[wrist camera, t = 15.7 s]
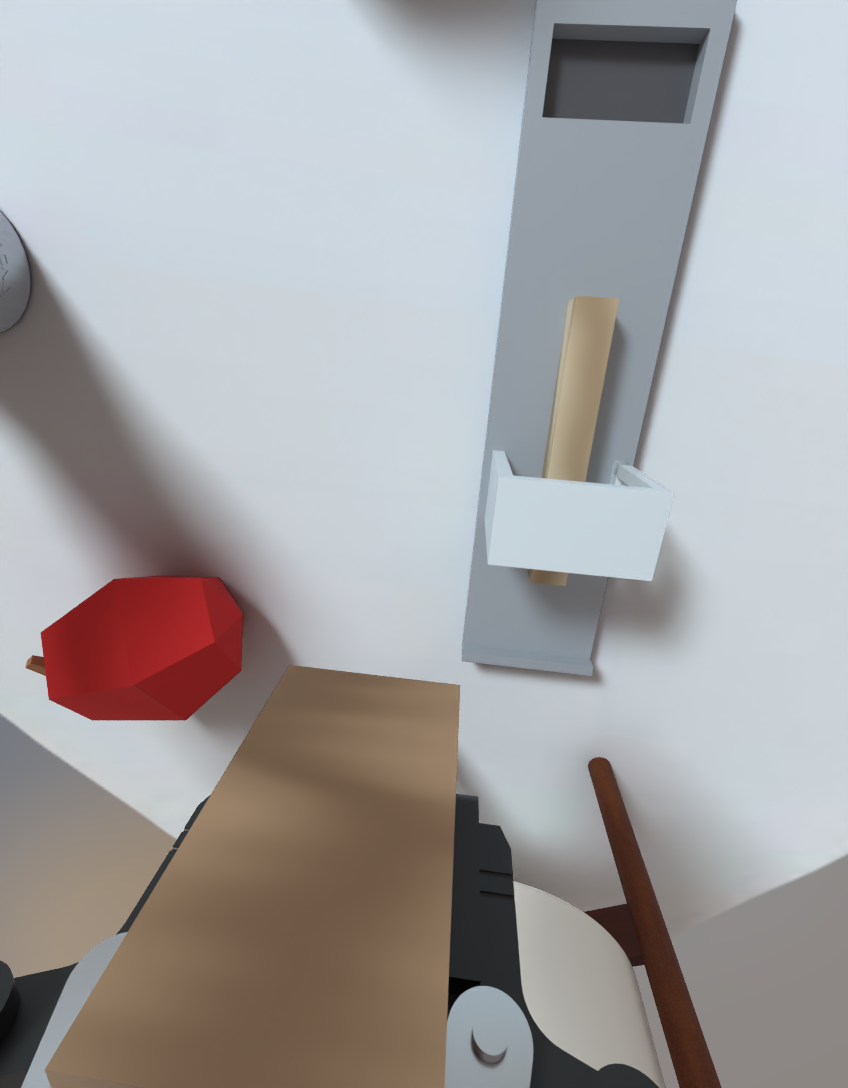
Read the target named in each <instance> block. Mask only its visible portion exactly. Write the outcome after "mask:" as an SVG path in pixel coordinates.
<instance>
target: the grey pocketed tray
mask: <svg viewBox="0 0 848 1088" xmlns="http://www.w3.org/2000/svg"><path fill="white" fill-rule="evenodd" d="M736 3H737V0H536V7H535V16H534V25H533V33H532V42H531V51H530V59H529V68H528V77H527V86H526V94H525V103H524V112H523V120H522V129H521V138H520V146H519V155H518V164H517V173H516V181H515V190H514V199H513V207H512V216H511V225H510V234H509V242H508V251H507V260H506V268H505V277H504V286H503V294H502V303H501V312H500V321H499V329H498V338H497V347H496V355H495V364H494V373H493V382H492V390H491V399H490V408H489V416H488V425H487V434H486V442H485V451H484V460H483V469H482V477H481V486H480V495H479V503H478V512H477V521H476V530H475V538H474V547H473V556H472V564H471V573H470V582H469V590H468V599H467V608H466V617H465V625H464V634H463V643H462V661H465V662H473V663H482V664H491V665H499V666H508V667H517V668H526V669H534V670H543V671H552V672H560V673H569V674H578V675H586V676H592V672H593V668H594V667H593V665H592V662H591V660H590V657H591V652H592V648H593V643H594V639H595V634H596V630H597V625H598V621H599V616H600V612H601V607H602V603H603V598H604V594H605V589H606V585H607V580H608V577H615V578H624V579H634V580H644V581H652V579H653V575H654V571H655V567H656V563H657V560H658V556H659V552H660V548H661V544H662V540H663V536H664V532H665V529H666V525H667V521H668V517H669V513H670V509H671V505H672V501H673V498H674V494H675V493H674V492H672V491H671V490H669V489H668V488H666V487H665V486H663V485H661V484H660V483H658V482H657V481H655V480H654V479H652V478H650V477H649V476H647V475H646V474H644V473H643V472H641V471H639V470H638V469H636V468H635V467H633V464H634V460H635V455H636V451H637V446H638V442H639V437H640V433H641V428H642V424H643V419H644V415H645V410H646V406H647V401H648V397H649V392H650V388H651V383H652V379H653V374H654V370H655V366H656V361H657V357H658V352H659V348H660V343H661V339H662V334H663V330H664V325H665V321H666V316H667V312H668V307H669V303H670V298H671V294H672V289H673V285H674V280H675V276H676V271H677V267H678V263H679V258H680V254H681V249H682V245H683V240H684V236H685V231H686V227H687V222H688V218H689V213H690V209H691V204H692V200H693V195H694V191H695V186H696V182H697V177H698V173H699V168H700V164H701V160H702V155H703V151H704V146H705V142H706V137H707V133H708V128H709V124H710V119H711V115H712V110H713V106H714V101H715V97H716V92H717V88H718V83H719V79H720V74H721V70H722V65H723V61H724V57H725V52H726V48H727V43H728V39H729V34H730V30H731V25H732V21H733V16H734V12H735V7H736ZM575 296H589V297H605V298H619V303H618V308H617V314H616V319H615V324H614V330H613V335H612V340H611V346H610V351H609V357H608V362H607V367H606V373H605V378H604V383H603V389H602V394H601V399H600V405H599V410H598V416H597V421H596V426H595V432H594V437H593V442H592V448H591V453H590V458H589V464H588V469H587V475H586V480H585V482H580V481H569V480H557V479H546V478H541V477H542V471H543V464H544V458H545V451H546V445H547V438H548V432H549V425H550V419H551V412H552V406H553V399H554V393H555V386H556V380H557V373H558V367H559V360H560V354H561V347H562V341H563V334H564V328H565V322H566V315H567V309H568V302H569V300H571V299H572V298H574V297H575ZM527 569H537V570H546V571H556V572H566V573H568V576H567V582H566V586H560V585H550V584H540V583H531V581H530V577H529V574H528V570H527Z"/></svg>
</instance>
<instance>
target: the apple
mask: <svg viewBox="0 0 848 1088" xmlns="http://www.w3.org/2000/svg"><path fill="white" fill-rule="evenodd" d="M242 626H243V613H242V612H241V610H240V609H239V607H238V605H237V604H236V602H235V601H234V599H233V598H232V596H231V595H230V593H229V592H228V590H227V589H226V587H225V586H224V584H223V582H222V581H221V579H220V578H219V577H181V576H149V577H135V578H122V579H114V580H112V581H111V582H109V583H108V584H107V585H105V586H104V587H103V588H101V589H100V590H98V591H97V592H96V593H94V594H93V595H92V596H90V597H89V598H88V599H86V600H85V601H83V602H82V603H81V604H79V605H78V606H77V607H75V608H74V609H72V610H71V611H70V612H68V613H67V614H66V615H64V616H63V617H61V618H60V619H59V620H57V621H56V622H55V623H53V624H52V625H51V626H49V627H48V628H46V629H45V630H44V631H42V632H41V639H42V647H43V655H44V657H39V656H32V657H30V658H29V659H28V661H27V664H26V668H27V669H30V670H32V671H35V672H37V673H40V674H42V675H45V676H46V680H47V688H48V696H49V700H51V701H53V702H55V703H57V704H59V705H62V706H64V707H66V708H68V709H70V710H72V711H74V712H76V713H78V714H80V715H82V716H85V717H87V718H89V719H91V720H187V719H188V718H189V717H190V716H191V715H192V714H193V713H194V712H196V711H197V710H198V709H199V708H200V707H201V706H202V705H203V704H204V703H206V702H207V701H208V700H209V699H210V698H211V697H212V696H213V695H215V694H216V693H217V692H218V691H219V690H220V689H221V688H222V687H223V686H225V685H226V684H227V683H228V682H229V681H230V680H231V679H232V678H233V677H235V676H236V675H237V674H238V673H239V672H240V671H241V659H242Z"/></svg>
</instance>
